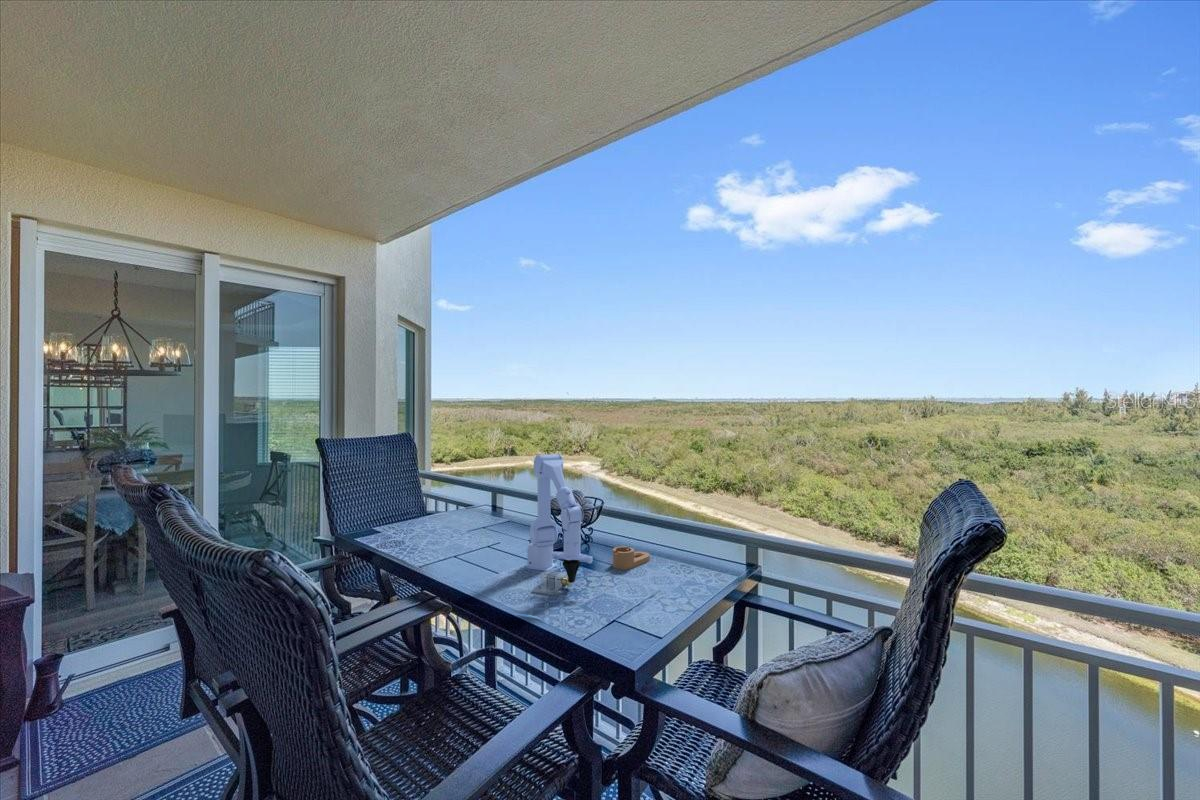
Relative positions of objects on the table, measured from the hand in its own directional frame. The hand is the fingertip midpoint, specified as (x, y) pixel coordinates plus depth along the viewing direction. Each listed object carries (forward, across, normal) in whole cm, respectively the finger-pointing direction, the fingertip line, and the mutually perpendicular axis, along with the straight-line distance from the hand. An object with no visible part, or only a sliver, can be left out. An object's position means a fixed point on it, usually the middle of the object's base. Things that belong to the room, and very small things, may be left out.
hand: (572, 581), depth 163 cm
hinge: (+2, -7, 0) cm, 7 cm away
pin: (+2, -6, 0) cm, 6 cm away
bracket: (+3, +11, +31) cm, 33 cm away
